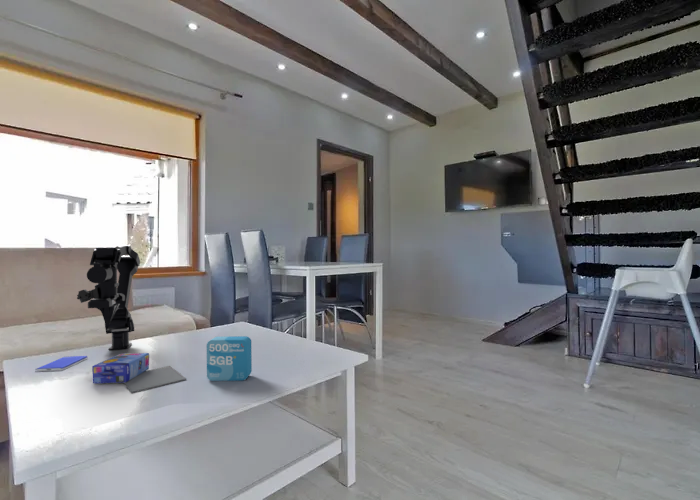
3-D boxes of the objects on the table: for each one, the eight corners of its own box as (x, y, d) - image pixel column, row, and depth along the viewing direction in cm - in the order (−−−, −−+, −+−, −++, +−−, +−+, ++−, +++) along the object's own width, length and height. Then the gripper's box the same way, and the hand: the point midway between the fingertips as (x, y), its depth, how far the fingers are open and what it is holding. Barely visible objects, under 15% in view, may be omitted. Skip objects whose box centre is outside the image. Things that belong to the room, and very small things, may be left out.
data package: (206, 381, 102) (206, 340, 102) (212, 375, 107) (212, 336, 107) (247, 380, 102) (247, 339, 102) (251, 375, 107) (251, 336, 107)
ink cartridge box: (149, 351, 112) (120, 367, 98) (150, 368, 112) (121, 387, 98) (118, 352, 112) (84, 368, 98) (119, 369, 112) (85, 388, 98)
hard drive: (63, 356, 125) (35, 368, 112) (87, 355, 125) (62, 367, 113) (63, 361, 125) (35, 373, 112) (87, 360, 125) (62, 372, 113)
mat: (119, 377, 106) (119, 376, 106) (169, 366, 115) (169, 365, 115) (131, 393, 94) (131, 391, 94) (186, 379, 103) (186, 378, 103)
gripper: (91, 279, 132) (91, 321, 132) (68, 284, 115) (69, 331, 115) (125, 278, 136) (125, 319, 136) (108, 282, 118) (108, 329, 118)
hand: (107, 324), depth 126 cm, fingers closed
